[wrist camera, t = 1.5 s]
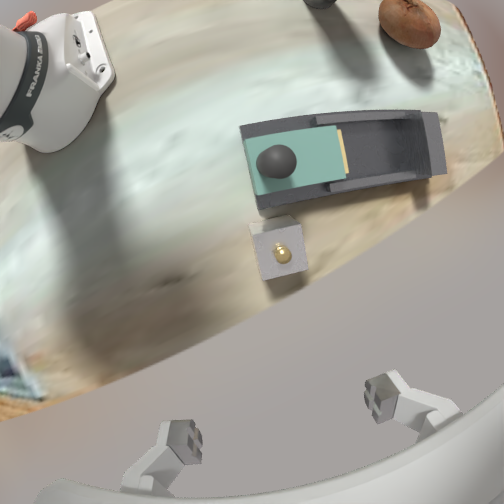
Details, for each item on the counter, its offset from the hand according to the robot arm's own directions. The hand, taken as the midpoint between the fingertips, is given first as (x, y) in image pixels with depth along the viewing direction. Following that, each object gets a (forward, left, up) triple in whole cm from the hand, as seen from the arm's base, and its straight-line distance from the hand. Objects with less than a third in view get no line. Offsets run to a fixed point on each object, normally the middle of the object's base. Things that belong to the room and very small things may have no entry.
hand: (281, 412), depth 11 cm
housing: (-1, +4, -24) cm, 25 cm away
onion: (-29, +30, -24) cm, 48 cm away
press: (-10, +16, -24) cm, 31 cm away
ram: (-10, +8, -23) cm, 27 cm away
